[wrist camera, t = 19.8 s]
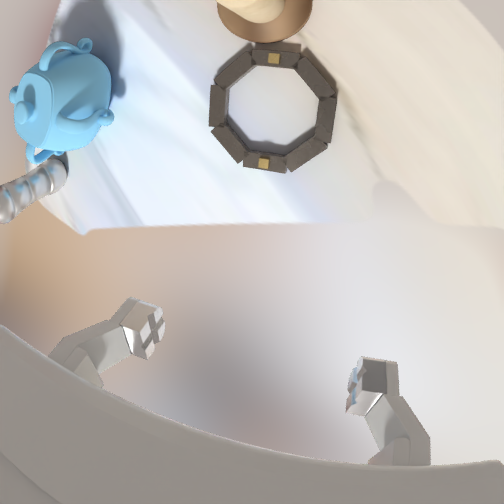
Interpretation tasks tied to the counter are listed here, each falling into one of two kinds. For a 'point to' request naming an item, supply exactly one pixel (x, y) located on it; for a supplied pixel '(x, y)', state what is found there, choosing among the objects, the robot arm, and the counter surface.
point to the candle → (255, 9)
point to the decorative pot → (62, 100)
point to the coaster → (273, 31)
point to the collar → (265, 159)
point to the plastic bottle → (31, 188)
